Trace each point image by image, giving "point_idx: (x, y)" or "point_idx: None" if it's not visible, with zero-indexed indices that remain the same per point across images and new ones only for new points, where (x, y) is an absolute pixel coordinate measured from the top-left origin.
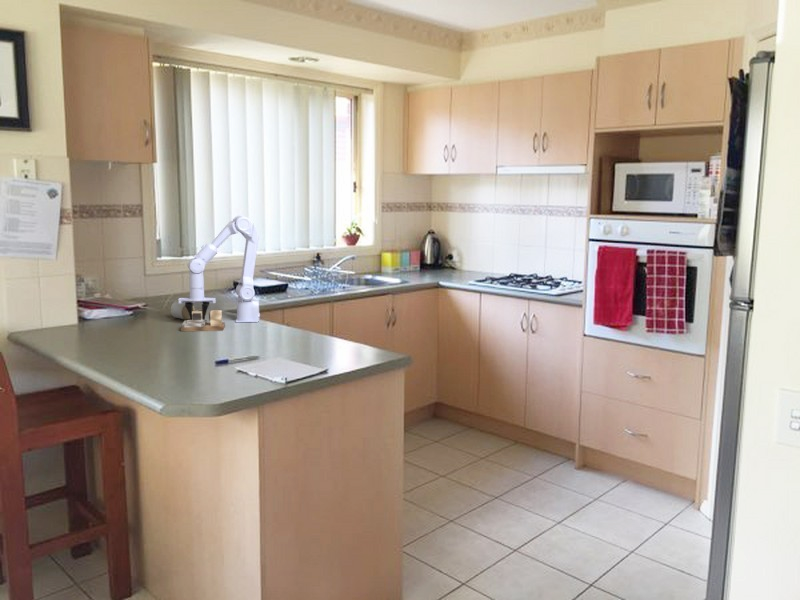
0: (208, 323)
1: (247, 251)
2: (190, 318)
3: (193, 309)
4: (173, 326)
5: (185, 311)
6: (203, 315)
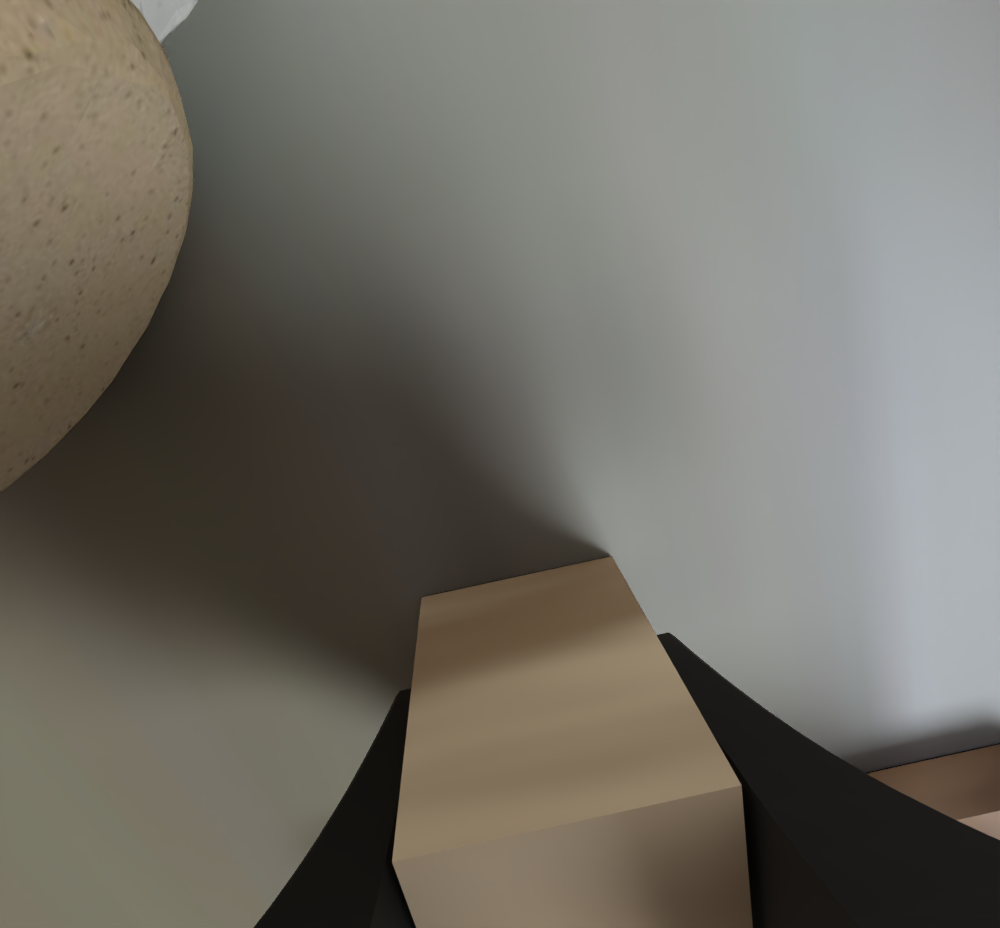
0: None
1: None
2: None
3: (66, 120)
4: (214, 899)
5: None
6: None
